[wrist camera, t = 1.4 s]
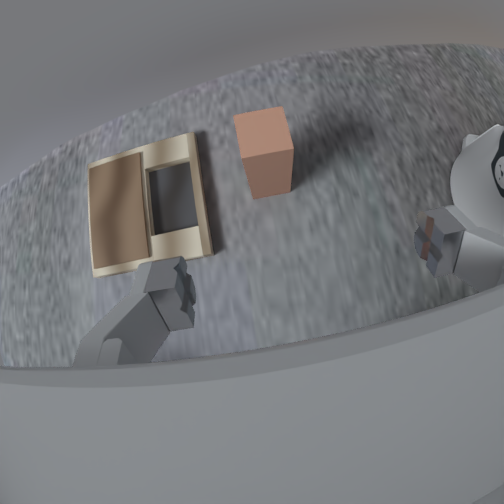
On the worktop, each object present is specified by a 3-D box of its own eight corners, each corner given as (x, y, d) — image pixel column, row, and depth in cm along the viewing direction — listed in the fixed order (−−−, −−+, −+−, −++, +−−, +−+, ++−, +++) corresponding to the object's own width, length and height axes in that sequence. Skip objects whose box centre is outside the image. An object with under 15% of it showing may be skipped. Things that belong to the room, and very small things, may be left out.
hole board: (196, 136, 40) (192, 130, 38) (214, 255, 37) (210, 253, 35) (93, 168, 40) (86, 163, 39) (99, 278, 38) (91, 277, 36)
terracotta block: (282, 158, 38) (282, 106, 26) (290, 192, 37) (293, 148, 26) (246, 165, 38) (233, 115, 27) (253, 199, 38) (241, 158, 26)
